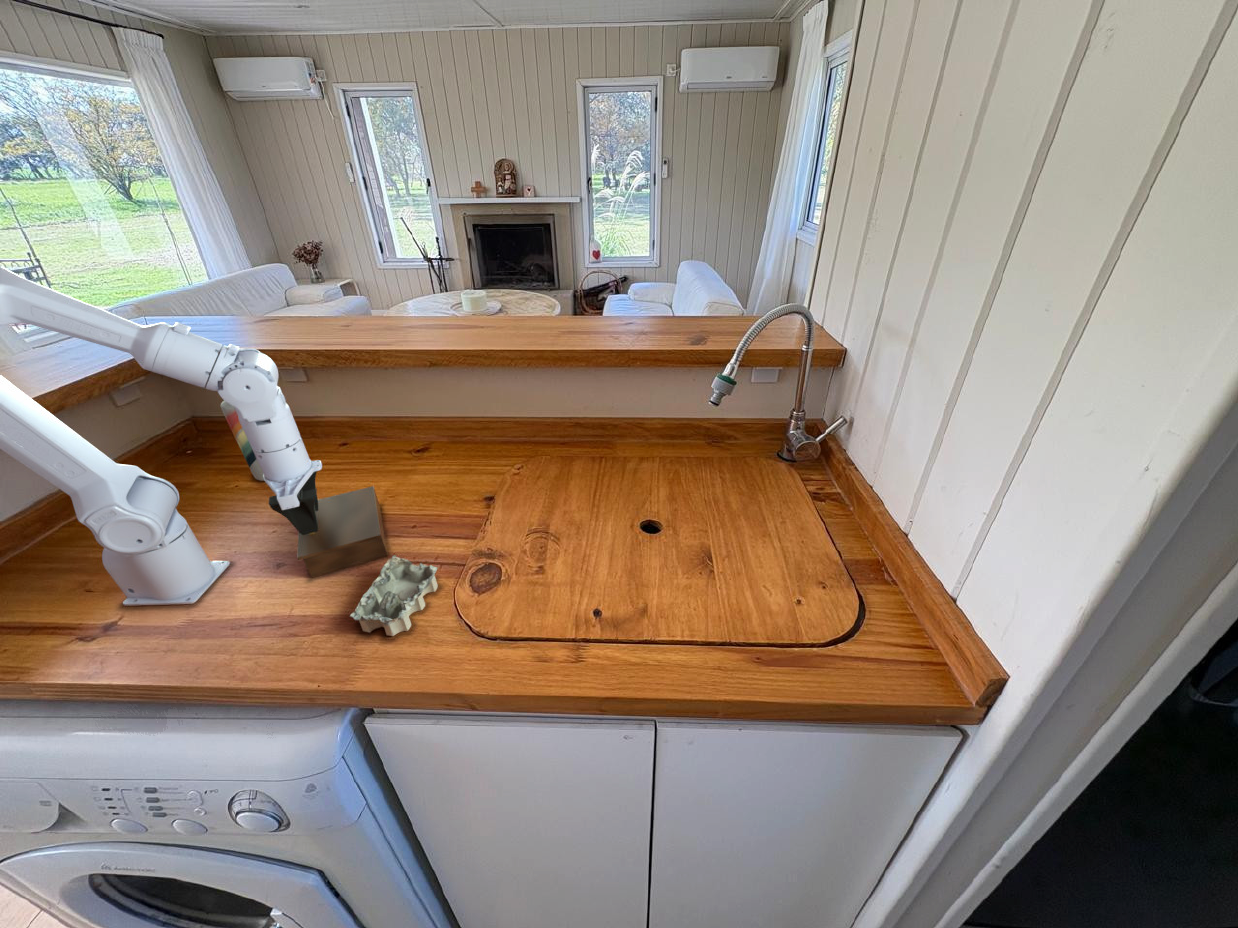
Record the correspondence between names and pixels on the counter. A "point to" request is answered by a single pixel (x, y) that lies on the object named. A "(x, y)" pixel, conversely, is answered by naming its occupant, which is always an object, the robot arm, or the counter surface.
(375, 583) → the egg carton
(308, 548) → the lid
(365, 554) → the compartment
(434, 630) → the counter surface
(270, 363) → the robot arm
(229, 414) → the lotion bottle
